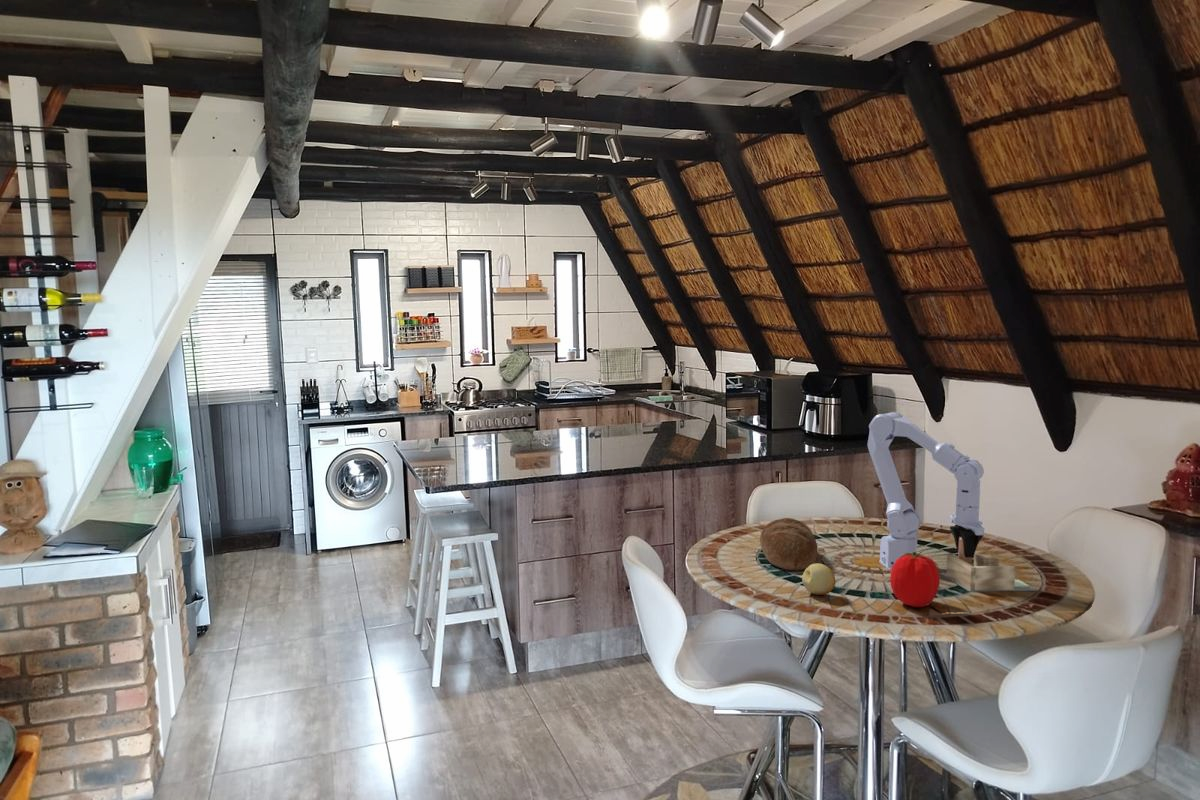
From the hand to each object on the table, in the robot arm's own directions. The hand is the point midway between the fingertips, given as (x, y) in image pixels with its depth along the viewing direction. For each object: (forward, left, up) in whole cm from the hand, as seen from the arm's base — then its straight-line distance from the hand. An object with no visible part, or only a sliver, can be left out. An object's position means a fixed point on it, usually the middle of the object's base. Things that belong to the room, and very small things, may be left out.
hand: (965, 554), depth 223 cm
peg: (0, 0, -3) cm, 3 cm away
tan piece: (+1, -5, -6) cm, 8 cm away
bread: (-42, +23, -7) cm, 48 cm away
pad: (+10, -7, -6) cm, 14 cm away
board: (+4, -4, -7) cm, 9 cm away
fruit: (-44, -11, -7) cm, 46 cm away
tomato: (-23, -20, -7) cm, 31 cm away
